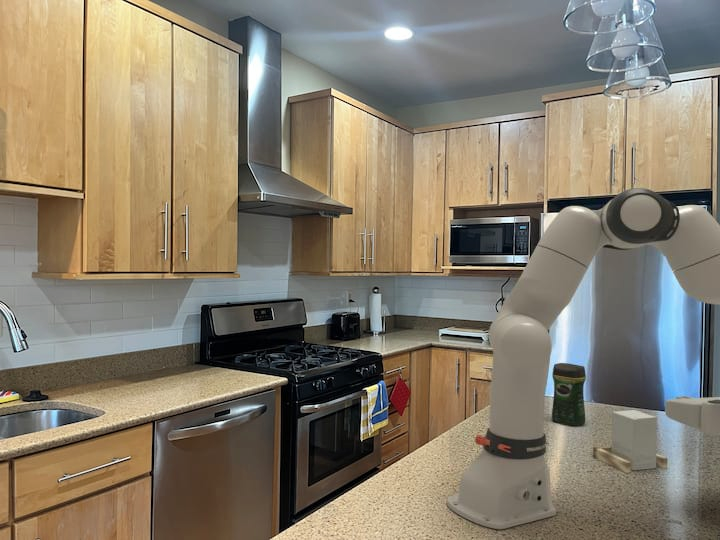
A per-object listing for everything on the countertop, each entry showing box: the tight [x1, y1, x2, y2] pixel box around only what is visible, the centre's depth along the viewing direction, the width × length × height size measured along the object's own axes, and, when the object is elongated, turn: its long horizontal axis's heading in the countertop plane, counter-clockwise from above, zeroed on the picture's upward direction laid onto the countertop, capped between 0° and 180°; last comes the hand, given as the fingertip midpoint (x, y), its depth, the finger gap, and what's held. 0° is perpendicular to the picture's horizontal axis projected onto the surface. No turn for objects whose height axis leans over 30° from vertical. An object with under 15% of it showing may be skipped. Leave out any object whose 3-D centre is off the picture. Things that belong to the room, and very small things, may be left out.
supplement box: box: [611, 409, 658, 471], centre depth 134 cm, size 7×7×13 cm
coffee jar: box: [551, 362, 587, 427], centre depth 169 cm, size 10×8×19 cm
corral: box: [592, 444, 668, 474], centre depth 135 cm, size 11×12×2 cm
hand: (680, 400), depth 121 cm, fingers closed
